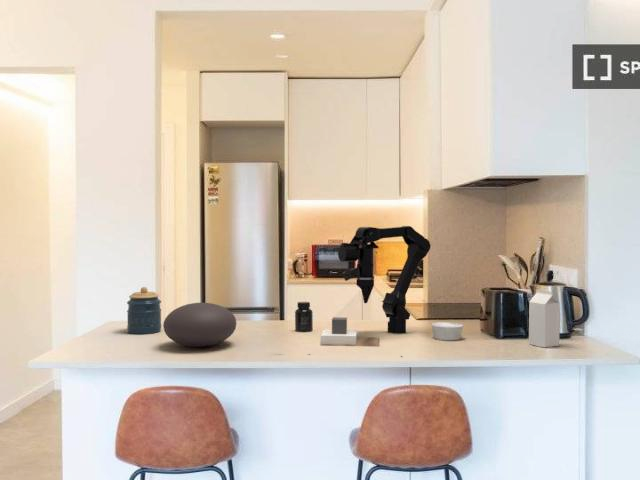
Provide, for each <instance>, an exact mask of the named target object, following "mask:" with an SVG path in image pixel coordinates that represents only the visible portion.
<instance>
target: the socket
mask: <svg viewBox="0 0 640 480" xmlns="http://www.w3.org/2000/svg"><path fill="white" fill-rule="evenodd" d="M357 337H358V330H357V329H347V333H346V334H332V329H323V331H322V333H321V334H320V345H321V344H333V345H356V342H357Z"/></svg>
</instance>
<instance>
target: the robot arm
mask: <svg viewBox="0 0 640 480" xmlns="http://www.w3.org/2000/svg"><path fill="white" fill-rule="evenodd" d="M400 237H401V238H402V239H403V241H404V243H405V244H406V245H407V250H406V254H407V258H406V260H405V262H404V265H403V267H402V269H401V272H400V274H399V277H398V279H397V281H396V284H395V286H394V289H393V290H392V291H391V292H386V293H385V296H384V298H383V300H382V301H381V303H382V307H381V308H382V311H383V312H384V314H385V317H386V318H388V321H387V333H388V334H389V333H390V334H406V332H407V320H410V317H411V313H410V312H409V311H408V310H407V309H406V305H407V300H406V294H407V292H408V290H409V287H410V286H411V283H412V281H413V278H414V275H416V274H415V273H416V271H417V269H418V267H419V264H420V262H421V261H422V260H423V259H424V258H426V256H427V255H428V253H429V251H430V250H431V247H432V245H431V243H430V240H429V239H428V238H426V237H425V236H423V235H422V234H421V233H419V232H418V231H417V230H415V229H414V228H413V227H412V226H411V225H403V226H394V227H384V228H380V227H372V226H359V227H358V228H357V229H356V231H355V234H354V236H353V238H352V239H351V241H350V242H349V243H348V242H341V243H340V247H339V249H338V251H337V257H338V259H339V261H340V262H341V263H342V262H343V263H345V262H356V261H357V265H356V267H353V268H349V267H348V268H346V269H345V270H344V271H343V272H342V276H343V279H344V281H345V282H346V281H350V280H351V279H353V278H356V287H358V288H359V289H360V290H361V293H362V295H361V296H362V298H363V303H364V304H368V301H369V299H370V296H371V293H372V291H373V289H374V286H375V275H374V249H379V245H377V243H375V242H377V241H380V240H382V239H390V238H400Z"/></svg>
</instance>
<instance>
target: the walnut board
mask: <svg viewBox="0 0 640 480" xmlns="http://www.w3.org/2000/svg"><path fill="white" fill-rule="evenodd" d="M319 345H320V347H321V346H323V347H373V348H374V347H381V346H380V337H374V336H373V337H372V336H371V337H367V336H366V337H365V336H363V337H362V336H360V337H359V336H357V342H356V345H333V344H321V343H320V344H319Z"/></svg>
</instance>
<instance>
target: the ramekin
mask: <svg viewBox="0 0 640 480" xmlns="http://www.w3.org/2000/svg"><path fill="white" fill-rule="evenodd" d="M431 328H432V334H433V337H434V338H435V340H438V341H448V342H449V341H458V340H460V338H461V336H462V333H463V328H464V325H463V324H460V323H457V322H451V321H450V322H446V321H440V322H439V321H438V322H433V323H431Z"/></svg>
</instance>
